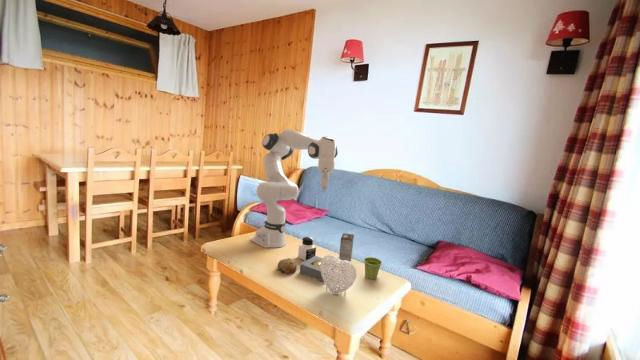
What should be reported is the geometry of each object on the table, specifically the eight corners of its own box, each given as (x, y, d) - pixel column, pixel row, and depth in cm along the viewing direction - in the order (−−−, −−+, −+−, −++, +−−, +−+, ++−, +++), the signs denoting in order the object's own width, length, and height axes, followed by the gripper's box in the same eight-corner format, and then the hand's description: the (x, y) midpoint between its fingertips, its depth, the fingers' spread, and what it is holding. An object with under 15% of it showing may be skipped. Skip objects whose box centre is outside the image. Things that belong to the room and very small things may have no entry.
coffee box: (340, 259, 182) (343, 232, 179) (351, 261, 181) (354, 234, 178) (337, 265, 173) (340, 237, 170) (349, 267, 172) (352, 239, 169)
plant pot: (383, 277, 163) (385, 262, 162) (373, 282, 157) (375, 266, 155) (369, 270, 170) (370, 255, 168) (358, 275, 163) (360, 259, 162)
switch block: (299, 273, 160) (300, 263, 159) (314, 264, 172) (315, 255, 171) (322, 282, 153) (323, 272, 152) (336, 272, 165) (337, 263, 164)
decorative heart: (312, 290, 144) (316, 255, 142) (326, 282, 153) (329, 249, 150) (345, 306, 134) (350, 268, 131) (358, 296, 142) (362, 261, 140)
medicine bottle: (305, 261, 174) (307, 241, 172) (297, 256, 179) (299, 236, 178) (315, 258, 179) (317, 238, 177) (307, 254, 184) (309, 234, 182)
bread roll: (275, 276, 162) (272, 266, 157) (283, 262, 170) (281, 251, 165) (292, 281, 158) (290, 270, 154) (300, 266, 166) (299, 255, 162)
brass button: (310, 269, 161) (311, 263, 160) (316, 265, 166) (317, 259, 165) (320, 273, 158) (321, 266, 157) (326, 269, 163) (327, 262, 162)
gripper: (331, 170, 161) (329, 196, 163) (331, 165, 181) (329, 188, 183) (319, 168, 161) (317, 195, 163) (321, 164, 181) (318, 187, 184)
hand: (323, 191), depth 174 cm, fingers closed
